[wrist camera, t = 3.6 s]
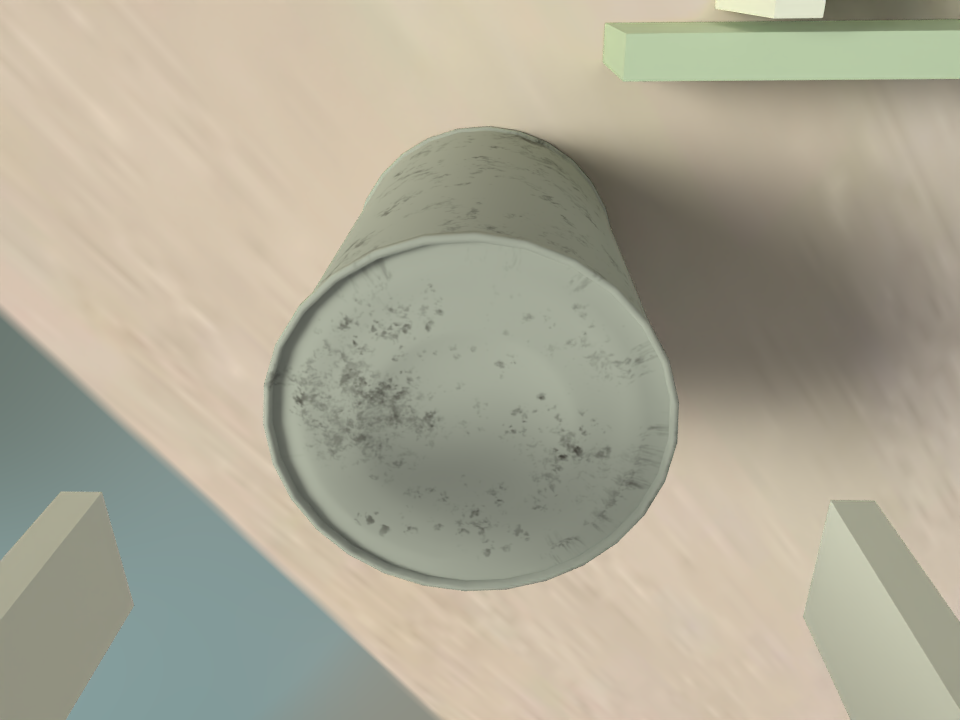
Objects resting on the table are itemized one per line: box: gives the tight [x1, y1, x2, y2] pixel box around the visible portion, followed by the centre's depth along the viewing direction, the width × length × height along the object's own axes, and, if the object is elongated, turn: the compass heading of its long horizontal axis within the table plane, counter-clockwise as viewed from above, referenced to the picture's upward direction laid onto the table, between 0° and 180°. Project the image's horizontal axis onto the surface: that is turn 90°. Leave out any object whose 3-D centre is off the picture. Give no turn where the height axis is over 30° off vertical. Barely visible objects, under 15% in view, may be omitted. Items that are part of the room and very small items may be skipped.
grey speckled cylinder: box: [263, 126, 679, 591], centre depth 23 cm, size 10×10×12 cm
